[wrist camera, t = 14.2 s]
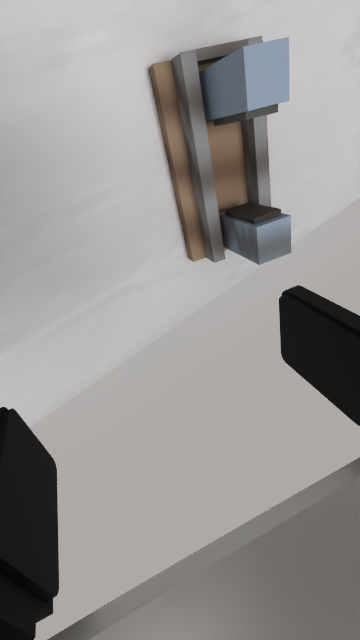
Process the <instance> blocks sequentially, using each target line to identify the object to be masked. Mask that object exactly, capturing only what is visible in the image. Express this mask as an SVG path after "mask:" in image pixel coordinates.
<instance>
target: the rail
mask: <svg viewBox="0 0 360 640" xmlns="http://www.w3.org/2000/svg"><path fill="white" fill-rule="evenodd" d="M258 43H263V41H262V36H259V37H254V38H249V39H244V40H240V41H235V42H230V43H225V44H220V45H216V46H211V47H206V48H201V49H197V50H192V51H187V52H182V53H179V54H178V55H177V56H176V57H174V58H173V59H172V60H171V61H167V62H162V63H157V64H153V65H152V66H151V67H150V68H149V72H150V77H151V82H152V86H153V91H154V96H155V100H156V105H157V110H158V115H159V119H160V124H161V129H162V133H163V138H164V143H165V148H166V152H167V157H168V162H169V166H170V171H171V176H172V181H173V185H174V190H175V195H176V199H177V204H178V209H179V214H180V218H181V223H182V228H183V232H184V237H185V242H186V247H187V251H188V256H189V259H190V260H192V261H193V262H194V261H197V260H199V259H202V258H205V257H206V258H208V259H210V260H211V261H213V262H214V263H215V262H218V261H220V260H223V259H225V254H224V250H227V249H229V250H231V251H233V252H235V253H237V254H239V255H241V256H243V257H245V258H247V259H249V260H251V261H253V262H255V263H257V264H259V265H260V264H263V263H265V262H268V261H271V260H273V259H276V258H278V257H281V256H284V255H286V254H289V253H291V215H287V214H282V213H281V209H278V208H273V207H271V199H270V178H269V158H268V137H267V116H266V115H264V116H260V117H256V118H252V119H248V120H244V121H239V122H234V123H229V124H224V125H219V126H214V119H213V120H209V121H206V120H205V113H204V106H203V99H202V92H201V85H200V78H199V72H200V71H202V70H204V69H205V68H207V67H209V66H211V65H212V64H214V63H216V62H217V61H219V60H221V59H223V58H224V57H226V56H228V55H230V54H231V53H233V52H235V51H236V50H238V49H240V48H242V47H243V46H248V45H253V44H258Z"/></svg>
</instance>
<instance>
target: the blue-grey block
mask: <svg viewBox="0 0 360 640" xmlns="http://www.w3.org/2000/svg"><path fill="white" fill-rule="evenodd" d="M199 78H200V85H201V92H202V99H203V106H204V113H205V120H206V121H209V120H213V119H214V126H219V125H224V124H229V123H234V122H239V121H244V120H248V119H252V118H256V117H260V116H264V115H268V114H272V113H275V112H278V103H282V102H286V101H289V37H288V38H283V39H278V40H273V41H268V42H263V43H258V44H253V45H248V46H243V47H242V48H240V49H238V50H236V51H235V52H233V53H231V54H230V55H228V56H226V57H224V58H223V59H221V60H219V61H217V62H216V63H214V64H212V65H211V66H209V67H207V68H205V69H204V70H202V71H200V72H199Z"/></svg>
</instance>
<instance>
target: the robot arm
mask: <svg viewBox="0 0 360 640" xmlns="http://www.w3.org/2000/svg"><path fill="white" fill-rule="evenodd" d="M279 312H280V336H281V354H282V358H283V360H284V361H285V362H286V363H287V364H288V365H289V366H290V367H292V368H293V369H294V370H295V371H296V372H297V373H298V374H300V375H301V376H302V377H303V378H304V379H305V380H306V381H308V382H309V383H310V384H311V385H312V386H313V387H315V388H316V389H317V390H318V391H319V392H320V393H321V394H322V395H324V396H325V397H326V398H327V399H328V400H329V401H331V402H332V403H333V404H334V405H335V406H336V407H337V408H339V409H340V410H341V411H342V412H343V413H344V414H345V415H347V416H348V417H349V418H350V419H351V420H352V421H354V422H355V423H356V424H357V425H359V426H360V316H359V315H357V314H355V313H353V312H351V311H349V310H347V309H345V308H343V307H341V306H339V305H337V304H335V303H333V302H331V301H329V300H327V299H325V298H323V297H321V296H320V295H318V294H316V293H314V292H312V291H310V290H308V289H306V288H304V287H302V286H295V287H293V288H290V289H288V290H285V291H284V292H283V293H282V296H281V297H280V298H279ZM57 515H58V514H57V468H56V464H55V462H54V460H53V458H52V457H51V455H50V454H49V453H48V452H47V450H46V449H45V448H44V446H43V445H42V444H41V442H40V441H39V440H38V439H37V437H36V436H35V435H34V434H33V432H32V431H31V430H30V428H29V427H28V426H27V425H26V423H25V422H24V421H23V419H22V418H21V417H20V416H19V414H18V413H17V412H16V411H15V410H14V409H9V410H8V409H7V408H5V407H1V408H0V640H34V638H35V629H36V623H37V622H38V621H40V620H42V619H44V618H46V617H47V616H49V615H51V614H53V597H55V596H57V594H58V590H59V569H58V568H59V567H58V516H57ZM48 640H360V458H358V459H356V460H354V461H353V462H351V463H349V464H347V465H346V466H344V467H342V468H340V469H339V470H337V471H335V472H333V473H332V474H330V475H328V476H326V477H324V478H323V479H321V480H319V481H317V482H316V483H314V484H312V485H310V486H309V487H307V488H305V489H304V490H302V491H300V492H298V493H297V494H295V495H293V496H291V497H290V498H288V499H286V500H284V501H283V502H281V503H279V504H277V505H276V506H274V507H272V508H270V509H269V510H267V511H265V512H264V513H262V514H260V515H259V516H257V517H255V518H253V519H252V520H250V521H248V522H246V523H244V524H243V525H241V526H240V527H238V528H236V529H234V530H232V531H231V532H229V533H227V534H225V535H224V536H222V537H220V538H219V539H217V540H215V541H214V542H212V543H210V544H208V545H206V546H205V547H203V548H201V549H200V550H198V551H196V552H194V553H193V554H191V555H189V556H188V557H186V558H184V559H182V560H181V561H179V562H177V563H176V564H174V565H172V566H170V567H169V568H167V569H165V570H164V571H162V572H160V573H158V574H157V575H155V576H153V577H152V578H150V579H148V580H147V581H145V582H143V583H141V584H140V585H138V586H136V587H134V588H133V589H131V590H129V591H128V592H126V593H124V594H122V595H121V596H119V597H117V598H116V599H114V600H112V601H111V602H109V603H107V604H106V605H104V606H102V607H101V608H99V609H97V610H96V611H94V612H93V613H91V614H89V615H88V616H86V617H84V618H83V619H81V620H79V621H78V622H76V623H74V624H73V625H71V626H69V627H68V628H66V629H64V630H63V631H61V632H59V633H58V634H56V635H55V636H53V637H51V638H50V639H48Z"/></svg>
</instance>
